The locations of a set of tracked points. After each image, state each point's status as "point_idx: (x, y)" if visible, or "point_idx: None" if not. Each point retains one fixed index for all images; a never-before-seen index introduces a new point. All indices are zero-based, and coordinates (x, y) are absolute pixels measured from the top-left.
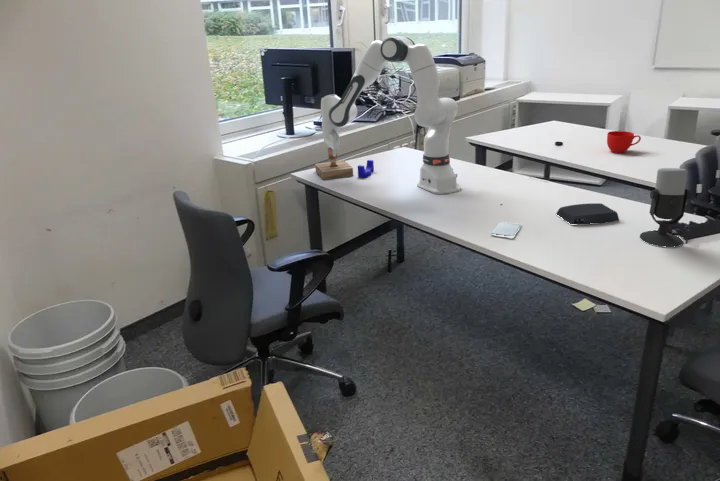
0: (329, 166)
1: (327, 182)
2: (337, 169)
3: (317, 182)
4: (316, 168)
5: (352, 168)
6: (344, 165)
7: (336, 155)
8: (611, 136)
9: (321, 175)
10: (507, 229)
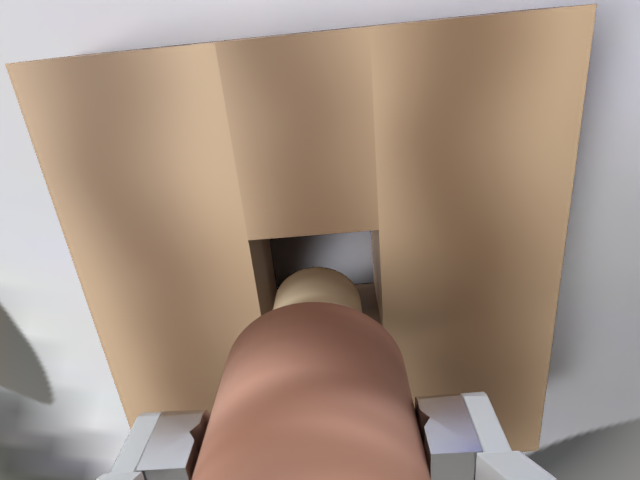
0: None
1: (628, 355)
2: (537, 271)
3: (567, 431)
4: None
5: (589, 10)
6: (359, 126)
7: (384, 363)
8: None
9: None
10: None
